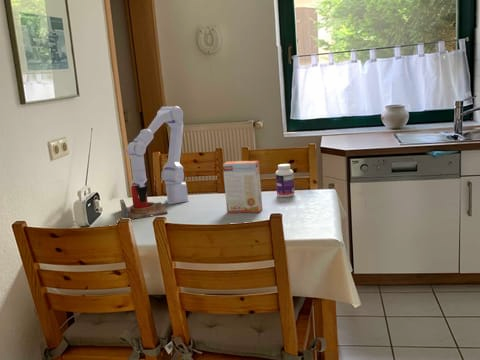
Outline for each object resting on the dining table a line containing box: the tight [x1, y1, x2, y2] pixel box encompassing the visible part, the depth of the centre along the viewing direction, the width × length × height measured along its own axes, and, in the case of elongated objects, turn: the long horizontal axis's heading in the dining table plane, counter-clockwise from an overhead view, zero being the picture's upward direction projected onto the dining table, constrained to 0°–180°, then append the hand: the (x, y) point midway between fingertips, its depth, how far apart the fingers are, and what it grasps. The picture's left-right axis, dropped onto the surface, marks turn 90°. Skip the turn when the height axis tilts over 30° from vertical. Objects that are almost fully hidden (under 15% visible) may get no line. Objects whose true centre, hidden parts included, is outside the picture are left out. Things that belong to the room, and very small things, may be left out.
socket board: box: [119, 198, 169, 220], centre depth 222 cm, size 18×18×5 cm
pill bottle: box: [275, 163, 295, 198], centre depth 228 cm, size 8×8×14 cm
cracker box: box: [222, 160, 263, 214], centre depth 209 cm, size 14×6×21 cm, turn 71°
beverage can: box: [130, 183, 149, 208], centre depth 221 cm, size 6×6×12 cm
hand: (142, 200), depth 221 cm, fingers closed on beverage can, 6 cm apart
